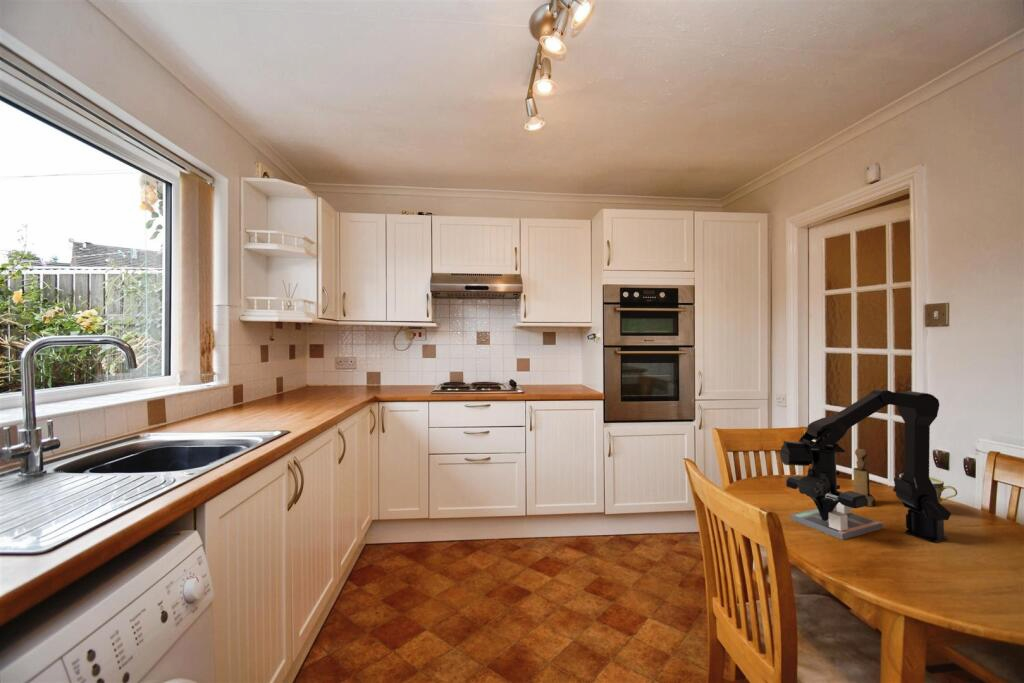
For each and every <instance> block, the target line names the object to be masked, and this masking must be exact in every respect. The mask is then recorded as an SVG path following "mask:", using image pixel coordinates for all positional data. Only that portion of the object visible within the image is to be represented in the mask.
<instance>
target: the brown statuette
mask: <svg viewBox="0 0 1024 683" xmlns="http://www.w3.org/2000/svg"><path fill="white" fill-rule="evenodd" d="M854 454H855V456H856V458H857V461H856V465H857V467H854V468H853V492H856V493H860V494H863V495H865V496H866V498H867V499H868V506H867V507H875V506H876V498H875V496H874V495H872V494H871V493H870V491H871V490H870V471H869V469H867V468H865V467H866V462H865V461H864V460H865V458H867V456H868V453H867V451H866V449H864V448H856V449H855V451H854Z"/></svg>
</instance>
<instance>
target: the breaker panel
mask: <svg viewBox="0 0 1024 683" xmlns="http://www.w3.org/2000/svg"><path fill="white" fill-rule="evenodd" d="M846 515H847V520H848V529H847V530H843V531H839V530H836V529H834V528H831V527H829V518H828V520H827V521H824V520H822V518H821V515H820V514H819V511H818V508H817V507H816V508H813V509H809V510H805V511H800V512H796V513H792V514H790V519H791V520H792V521H794V522H796V523H799V524H802V525H804V526H806V527H809V528H812V529H814V530H817V531H819V532H821V533H824V534H827V535H829V536H831V537H835V538H836V539H839V540H842V541H843V540H847V539H850V538H855V537H858V536H861V535H865V534H868V533H873V532H876V531H879V530H883V529H884V523H883V522H879V521H877V520H873V519H871V518H869V517H865V516H862V515H858V514H855V513H853V512H851V513H848V514H846Z"/></svg>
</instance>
